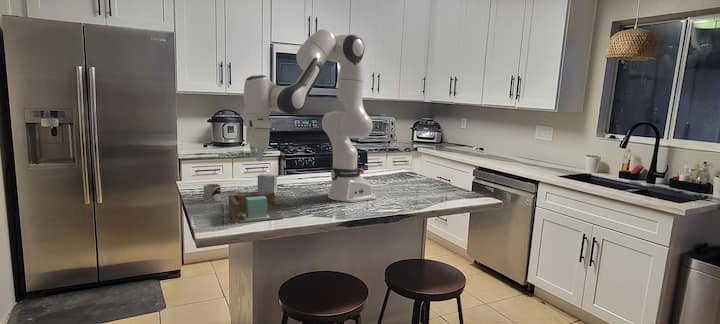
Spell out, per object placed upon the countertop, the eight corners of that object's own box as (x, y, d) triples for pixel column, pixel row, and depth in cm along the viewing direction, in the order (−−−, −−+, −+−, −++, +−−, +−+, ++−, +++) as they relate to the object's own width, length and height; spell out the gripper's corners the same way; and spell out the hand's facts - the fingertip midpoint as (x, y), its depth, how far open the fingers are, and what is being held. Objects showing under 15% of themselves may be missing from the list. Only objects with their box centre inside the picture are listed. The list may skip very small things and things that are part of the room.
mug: (215, 203, 171) (215, 188, 170) (200, 202, 172) (200, 186, 171) (227, 197, 181) (227, 183, 180) (213, 196, 182) (212, 181, 181)
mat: (274, 210, 166) (274, 208, 166) (283, 219, 156) (283, 217, 156) (233, 213, 159) (233, 212, 159) (239, 223, 148) (239, 222, 148)
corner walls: (273, 209, 167) (273, 192, 166) (283, 219, 156) (283, 200, 154) (228, 213, 160) (228, 195, 158) (235, 223, 148) (235, 204, 147)
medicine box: (276, 192, 193) (277, 174, 192) (274, 195, 189) (274, 176, 188) (260, 191, 194) (260, 173, 193) (257, 193, 190) (257, 175, 188)
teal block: (245, 215, 156) (245, 197, 155) (264, 213, 159) (264, 196, 158) (248, 218, 153) (248, 200, 151) (266, 216, 156) (267, 198, 155)
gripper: (241, 118, 157) (241, 154, 160) (254, 123, 139) (254, 164, 142) (258, 118, 160) (258, 153, 163) (272, 123, 142) (272, 163, 145)
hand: (256, 158), depth 152 cm, fingers open, 8 cm apart
